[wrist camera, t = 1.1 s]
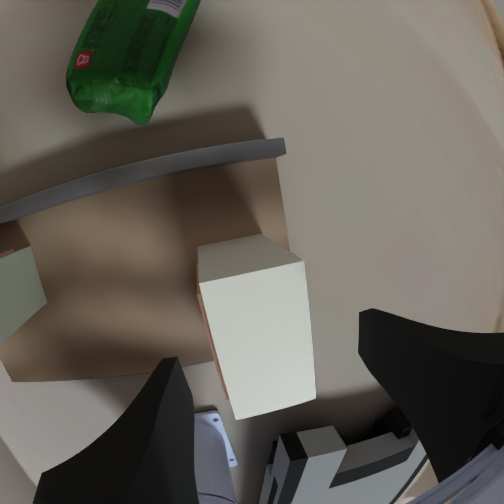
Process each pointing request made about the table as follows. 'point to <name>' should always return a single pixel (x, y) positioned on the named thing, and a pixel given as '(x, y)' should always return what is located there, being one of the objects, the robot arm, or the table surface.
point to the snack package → (128, 55)
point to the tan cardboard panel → (134, 258)
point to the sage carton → (18, 290)
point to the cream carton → (257, 323)
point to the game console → (344, 465)
